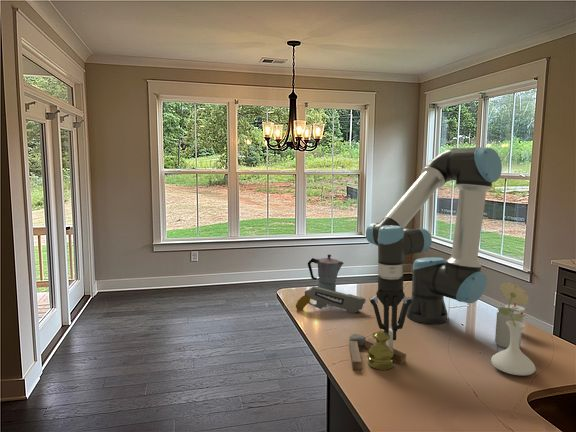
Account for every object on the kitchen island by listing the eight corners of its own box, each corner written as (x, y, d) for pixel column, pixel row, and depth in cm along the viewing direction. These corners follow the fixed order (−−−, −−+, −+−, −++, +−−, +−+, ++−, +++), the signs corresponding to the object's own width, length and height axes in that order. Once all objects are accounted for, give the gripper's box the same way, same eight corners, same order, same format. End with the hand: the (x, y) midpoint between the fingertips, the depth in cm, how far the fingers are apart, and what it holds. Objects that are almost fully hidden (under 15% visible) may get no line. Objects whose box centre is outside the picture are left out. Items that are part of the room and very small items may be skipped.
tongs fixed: (364, 341, 139) (364, 334, 139) (371, 370, 120) (372, 362, 119) (348, 341, 139) (348, 333, 139) (352, 369, 120) (352, 361, 120)
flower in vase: (545, 378, 116) (552, 290, 113) (507, 381, 114) (514, 292, 111) (512, 356, 129) (518, 277, 126) (478, 359, 127) (484, 279, 124)
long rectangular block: (370, 345, 136) (370, 338, 136) (405, 362, 125) (406, 354, 125) (365, 347, 134) (365, 340, 134) (400, 364, 123) (401, 356, 123)
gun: (351, 333, 167) (366, 300, 165) (294, 310, 167) (308, 276, 165) (350, 330, 170) (365, 297, 168) (294, 307, 170) (308, 274, 168)
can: (518, 342, 139) (520, 307, 138) (522, 352, 132) (525, 315, 131) (493, 339, 142) (495, 305, 140) (496, 348, 135) (498, 312, 133)
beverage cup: (525, 335, 145) (528, 296, 143) (506, 334, 146) (509, 295, 144) (519, 329, 151) (522, 291, 149) (501, 327, 152) (503, 290, 150)
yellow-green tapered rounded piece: (376, 356, 129) (377, 325, 127) (398, 364, 123) (399, 332, 122) (362, 364, 123) (363, 331, 122) (384, 373, 118) (385, 339, 117)
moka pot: (344, 303, 177) (345, 257, 175) (307, 303, 177) (308, 256, 175) (341, 296, 187) (342, 252, 184) (306, 295, 187) (307, 251, 184)
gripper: (371, 279, 125) (370, 354, 128) (414, 279, 124) (413, 355, 127) (367, 273, 133) (367, 344, 135) (409, 273, 132) (408, 344, 135)
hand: (389, 349), depth 131 cm, fingers closed
